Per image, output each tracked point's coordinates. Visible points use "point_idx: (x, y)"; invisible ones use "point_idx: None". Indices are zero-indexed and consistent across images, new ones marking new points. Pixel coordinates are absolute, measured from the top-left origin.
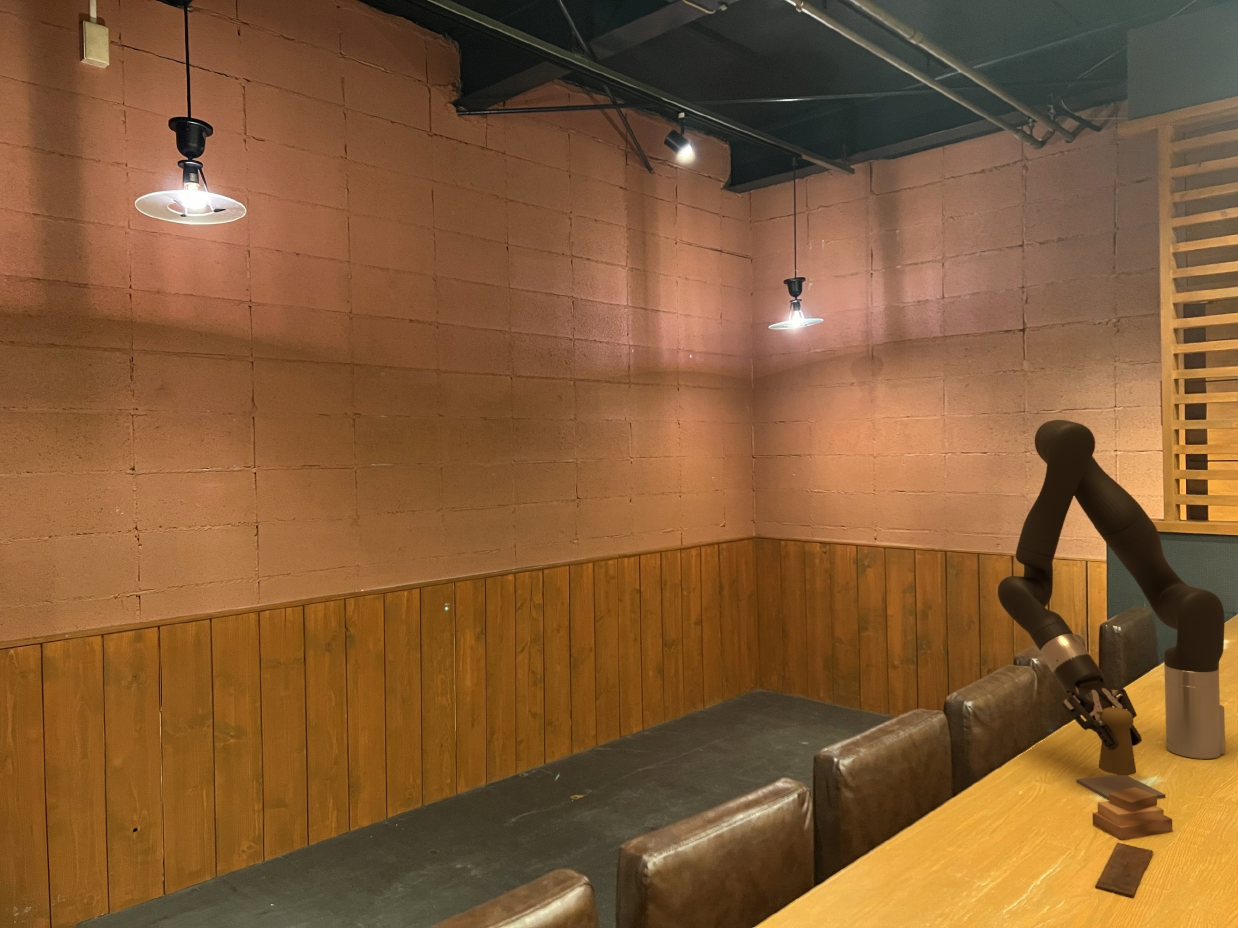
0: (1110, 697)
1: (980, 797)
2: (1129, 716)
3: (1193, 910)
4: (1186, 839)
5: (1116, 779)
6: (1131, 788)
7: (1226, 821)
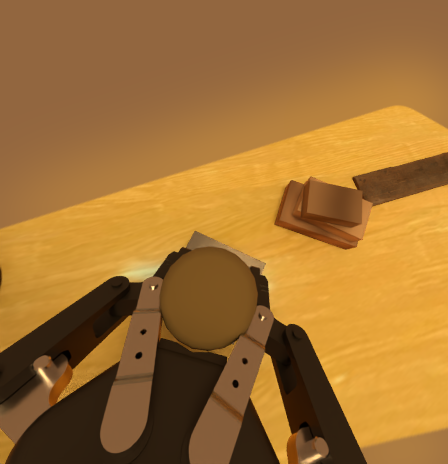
0: (135, 368)
1: (408, 411)
2: (213, 249)
3: (415, 120)
4: (293, 171)
5: None
6: (315, 212)
7: (215, 163)
